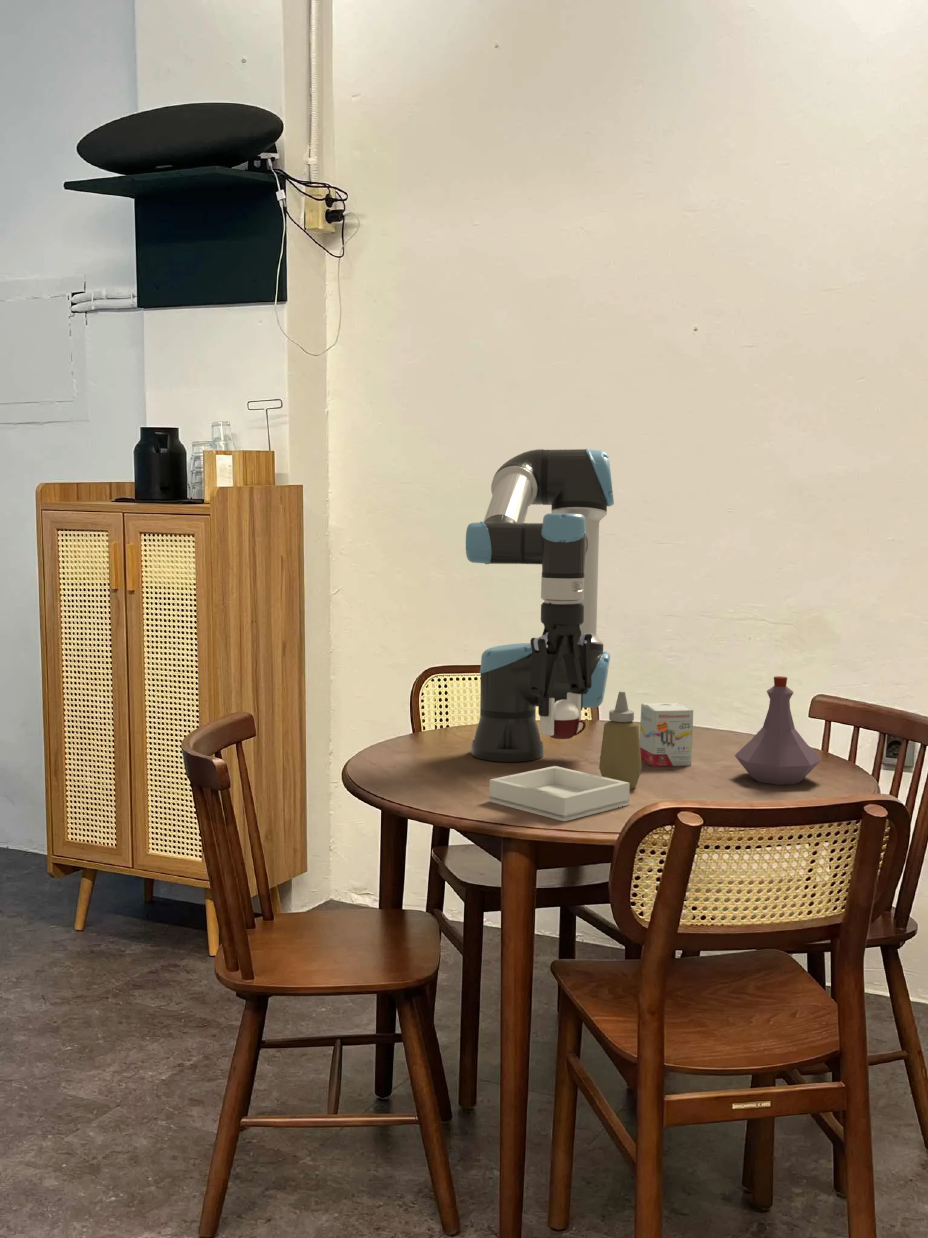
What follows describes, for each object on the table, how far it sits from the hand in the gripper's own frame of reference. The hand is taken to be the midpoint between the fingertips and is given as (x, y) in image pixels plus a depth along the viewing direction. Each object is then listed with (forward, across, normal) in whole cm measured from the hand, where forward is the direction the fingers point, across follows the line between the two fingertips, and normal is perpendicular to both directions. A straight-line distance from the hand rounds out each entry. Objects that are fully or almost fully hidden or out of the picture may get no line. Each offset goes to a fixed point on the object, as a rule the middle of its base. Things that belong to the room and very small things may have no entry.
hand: (560, 731), depth 221 cm
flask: (+13, +46, -15) cm, 50 cm away
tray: (+13, 0, 0) cm, 13 cm away
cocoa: (+1, 0, 0) cm, 1 cm away
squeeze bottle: (+13, +18, +1) cm, 22 cm away
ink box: (+13, +42, +9) cm, 45 cm away
